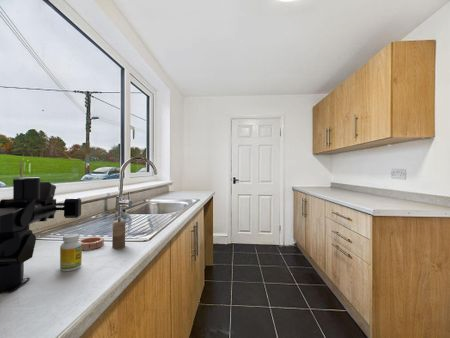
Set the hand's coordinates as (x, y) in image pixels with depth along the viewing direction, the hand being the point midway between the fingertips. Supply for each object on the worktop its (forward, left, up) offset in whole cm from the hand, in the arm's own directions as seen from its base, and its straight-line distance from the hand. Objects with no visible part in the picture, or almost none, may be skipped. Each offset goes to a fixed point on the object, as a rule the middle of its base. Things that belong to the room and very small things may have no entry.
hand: (61, 204), depth 84 cm
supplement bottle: (-15, -10, -17) cm, 25 cm away
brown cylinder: (+3, -18, -17) cm, 25 cm away
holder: (+5, -8, -16) cm, 19 cm away
